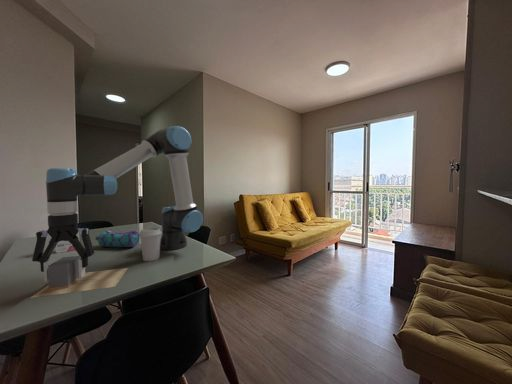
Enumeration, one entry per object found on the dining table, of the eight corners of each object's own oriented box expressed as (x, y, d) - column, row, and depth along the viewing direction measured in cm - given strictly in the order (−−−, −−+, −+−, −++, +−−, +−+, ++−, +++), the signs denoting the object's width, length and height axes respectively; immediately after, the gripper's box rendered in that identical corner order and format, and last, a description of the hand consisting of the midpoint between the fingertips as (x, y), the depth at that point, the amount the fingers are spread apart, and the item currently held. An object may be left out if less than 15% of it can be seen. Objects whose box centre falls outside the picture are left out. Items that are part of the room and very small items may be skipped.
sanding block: (63, 278, 74) (62, 257, 73) (80, 277, 75) (79, 255, 75) (49, 290, 66) (48, 265, 66) (68, 287, 68) (67, 264, 67)
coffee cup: (163, 262, 93) (162, 230, 92) (139, 267, 88) (138, 232, 87) (161, 256, 101) (161, 226, 100) (139, 260, 96) (138, 228, 96)
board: (128, 271, 84) (128, 267, 84) (114, 291, 68) (114, 286, 68) (61, 279, 77) (61, 275, 77) (30, 302, 62) (30, 297, 62)
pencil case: (95, 248, 113) (94, 231, 112) (108, 243, 122) (107, 228, 121) (130, 249, 111) (130, 232, 111) (141, 244, 120) (140, 228, 120)
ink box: (77, 247, 114) (76, 226, 114) (77, 249, 111) (76, 228, 110) (56, 251, 109) (55, 229, 108) (55, 253, 105) (54, 230, 104)
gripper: (104, 211, 77) (106, 269, 78) (30, 213, 70) (33, 277, 71) (95, 213, 69) (97, 278, 70) (12, 216, 63) (16, 288, 64)
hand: (65, 278), depth 71 cm, fingers open, 9 cm apart
